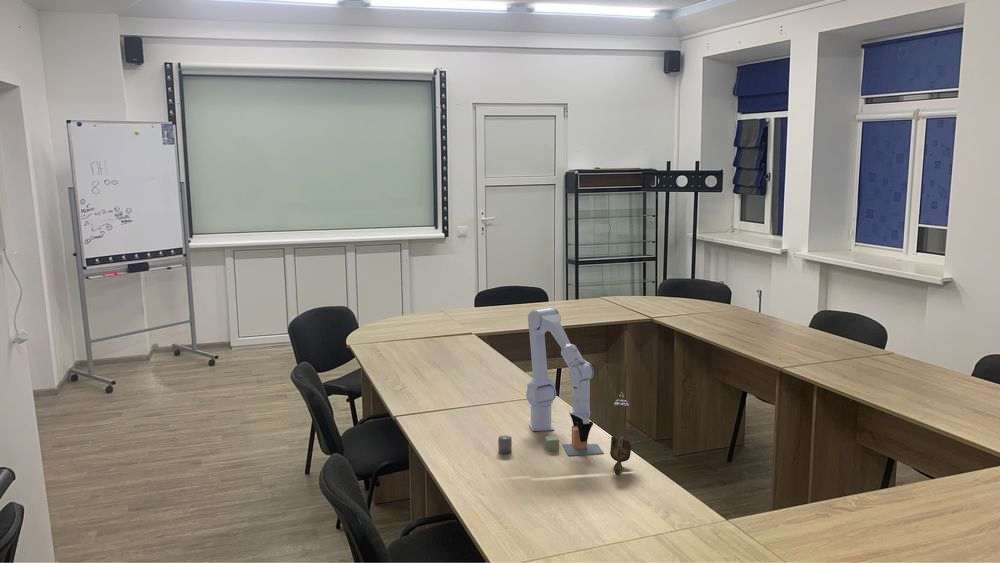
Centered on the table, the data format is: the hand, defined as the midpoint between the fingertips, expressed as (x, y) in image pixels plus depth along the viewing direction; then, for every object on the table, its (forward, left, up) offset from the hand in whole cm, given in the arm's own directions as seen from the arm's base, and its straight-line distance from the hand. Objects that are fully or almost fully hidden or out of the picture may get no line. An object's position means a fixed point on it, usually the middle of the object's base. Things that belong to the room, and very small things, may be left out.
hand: (580, 437), depth 249 cm
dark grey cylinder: (0, -26, -4) cm, 26 cm away
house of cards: (-38, +27, -4) cm, 47 cm away
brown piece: (+21, +8, -4) cm, 23 cm away
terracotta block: (0, 0, -3) cm, 3 cm away
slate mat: (0, 0, -3) cm, 3 cm away
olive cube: (0, -10, -4) cm, 11 cm away
